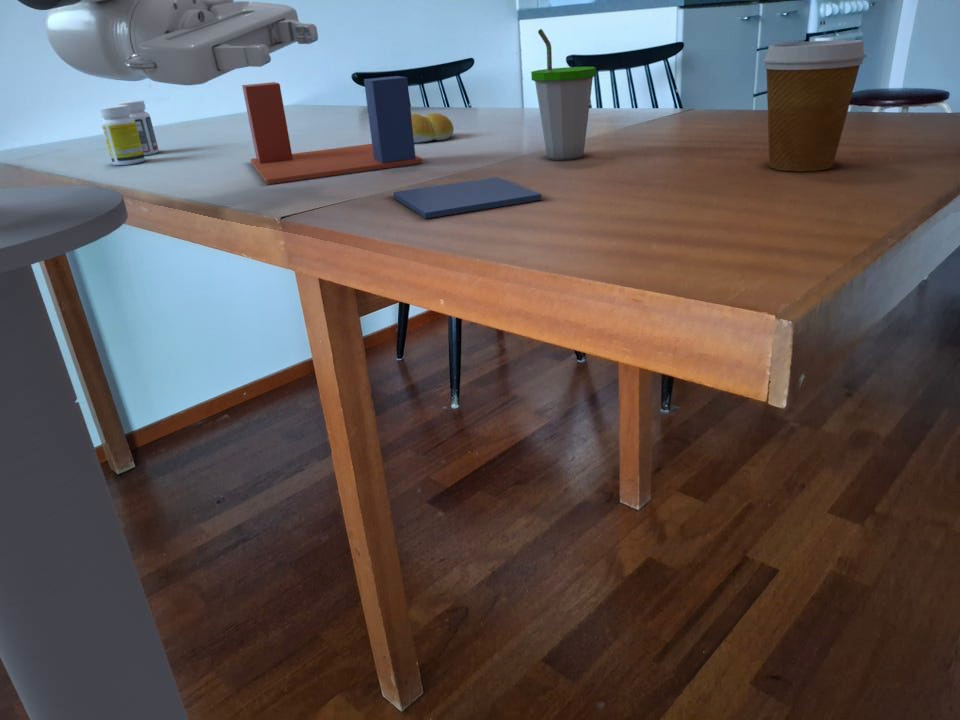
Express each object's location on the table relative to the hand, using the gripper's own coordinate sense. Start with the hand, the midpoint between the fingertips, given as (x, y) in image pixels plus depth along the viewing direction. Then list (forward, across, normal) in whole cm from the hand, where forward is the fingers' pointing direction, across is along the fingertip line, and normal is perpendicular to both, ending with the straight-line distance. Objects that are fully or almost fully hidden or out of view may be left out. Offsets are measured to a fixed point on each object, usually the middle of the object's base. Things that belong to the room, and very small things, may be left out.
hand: (291, 44), depth 75 cm
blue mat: (+20, -4, +13) cm, 24 cm away
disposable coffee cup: (+52, +12, +14) cm, 55 cm away
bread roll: (-2, +34, +22) cm, 41 cm away
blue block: (+3, +15, +18) cm, 23 cm away
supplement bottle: (-44, +16, +22) cm, 52 cm away
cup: (+25, +18, +17) cm, 35 cm away
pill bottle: (-49, +24, +24) cm, 59 cm away
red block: (-16, +15, +19) cm, 29 cm away
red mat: (-7, +15, +19) cm, 25 cm away
